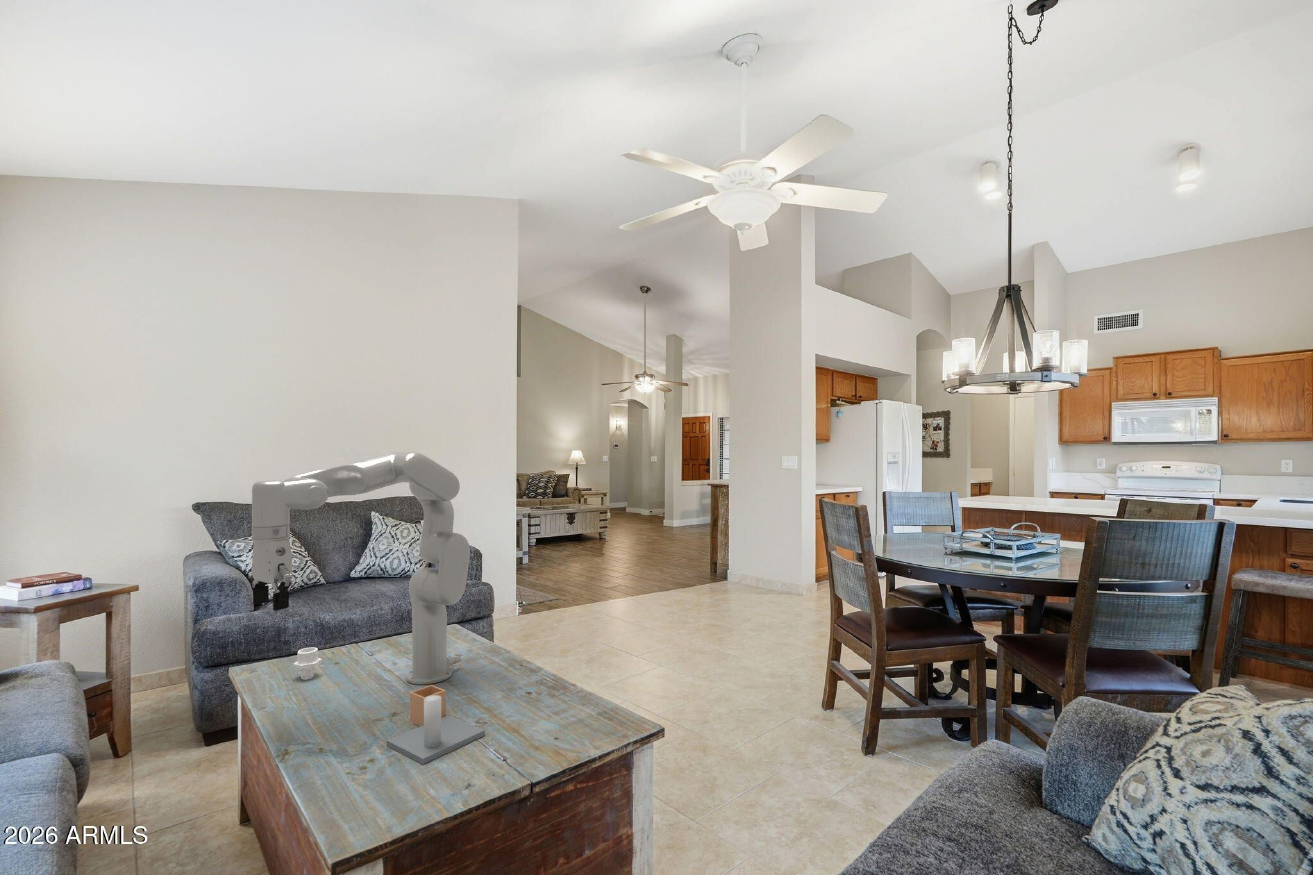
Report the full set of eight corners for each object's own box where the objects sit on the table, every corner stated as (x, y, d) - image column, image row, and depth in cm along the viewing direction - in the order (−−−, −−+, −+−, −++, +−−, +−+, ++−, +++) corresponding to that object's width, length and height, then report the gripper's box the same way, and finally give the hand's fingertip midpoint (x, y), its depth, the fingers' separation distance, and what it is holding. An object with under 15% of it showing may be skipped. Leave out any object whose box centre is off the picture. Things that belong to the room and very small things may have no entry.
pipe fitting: (310, 672, 183) (310, 645, 183) (325, 675, 179) (325, 648, 180) (289, 679, 177) (289, 651, 177) (304, 683, 174) (305, 655, 174)
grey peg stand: (448, 719, 150) (448, 673, 150) (484, 735, 141) (484, 686, 142) (386, 745, 137) (386, 695, 137) (422, 764, 128) (422, 710, 129)
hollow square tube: (431, 712, 154) (431, 684, 154) (445, 718, 150) (445, 690, 150) (409, 721, 149) (409, 692, 149) (424, 727, 145) (424, 698, 145)
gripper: (306, 533, 141) (306, 607, 141) (270, 528, 151) (270, 598, 151) (271, 538, 135) (271, 615, 135) (236, 532, 145) (236, 604, 144)
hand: (270, 606), depth 143 cm, fingers open, 9 cm apart
